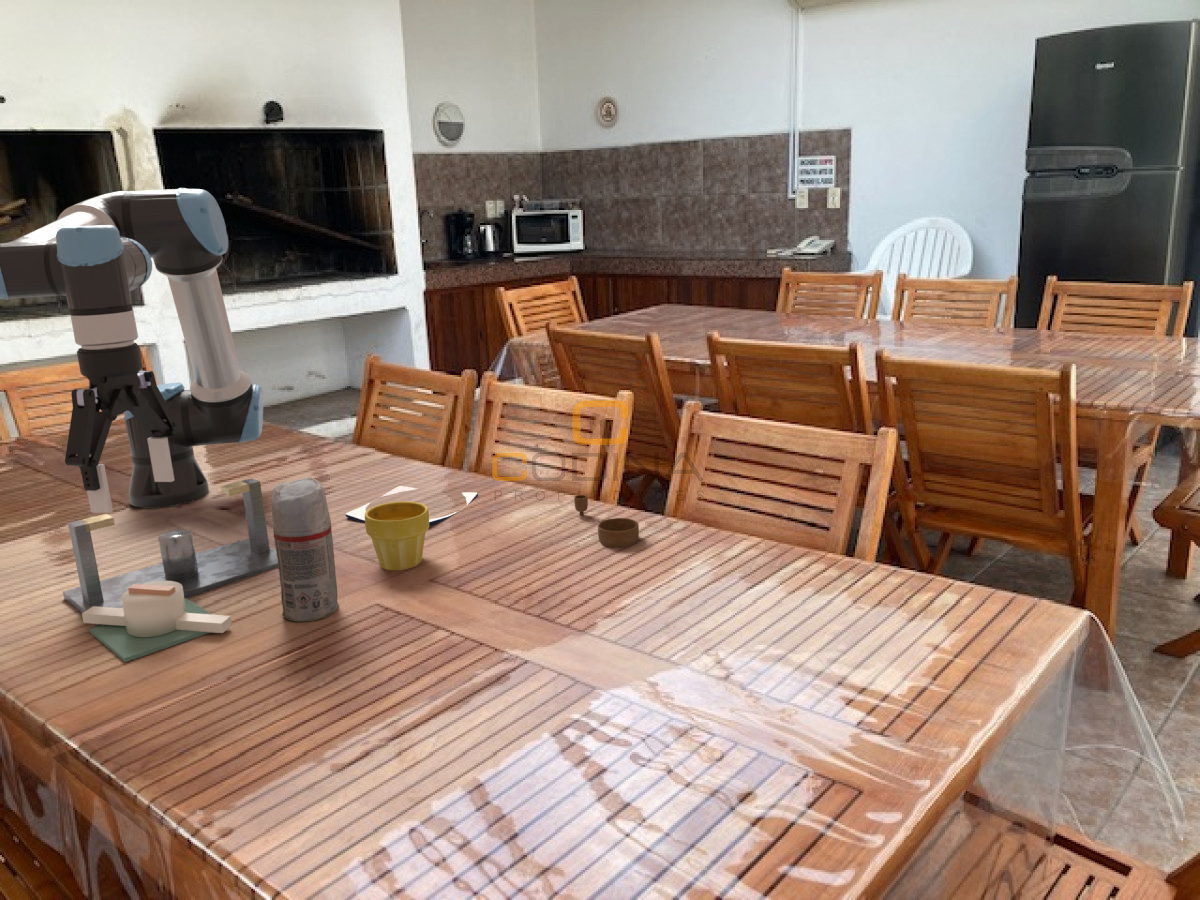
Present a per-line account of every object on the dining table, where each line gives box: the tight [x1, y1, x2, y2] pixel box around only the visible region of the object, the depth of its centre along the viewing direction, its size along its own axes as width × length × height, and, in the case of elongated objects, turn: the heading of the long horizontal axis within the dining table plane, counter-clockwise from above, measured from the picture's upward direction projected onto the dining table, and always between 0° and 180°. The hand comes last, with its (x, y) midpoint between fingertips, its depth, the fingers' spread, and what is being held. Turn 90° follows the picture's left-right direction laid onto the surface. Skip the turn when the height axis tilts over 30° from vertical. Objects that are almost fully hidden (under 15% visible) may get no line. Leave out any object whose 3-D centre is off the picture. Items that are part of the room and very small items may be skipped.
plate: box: [344, 485, 479, 527], centre depth 182 cm, size 20×20×3 cm
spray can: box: [271, 476, 340, 622], centre depth 137 cm, size 8×8×20 cm
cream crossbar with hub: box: [81, 581, 233, 637], centre depth 135 cm, size 22×8×6 cm, turn 80°
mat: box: [89, 598, 213, 663], centre depth 135 cm, size 14×14×1 cm
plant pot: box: [364, 500, 430, 571], centre depth 155 cm, size 10×10×10 cm
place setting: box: [573, 494, 640, 548], centre depth 163 cm, size 18×20×6 cm
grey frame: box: [62, 478, 278, 627], centre depth 152 cm, size 31×16×14 cm, turn 135°
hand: (134, 496), depth 131 cm, fingers open, 13 cm apart
